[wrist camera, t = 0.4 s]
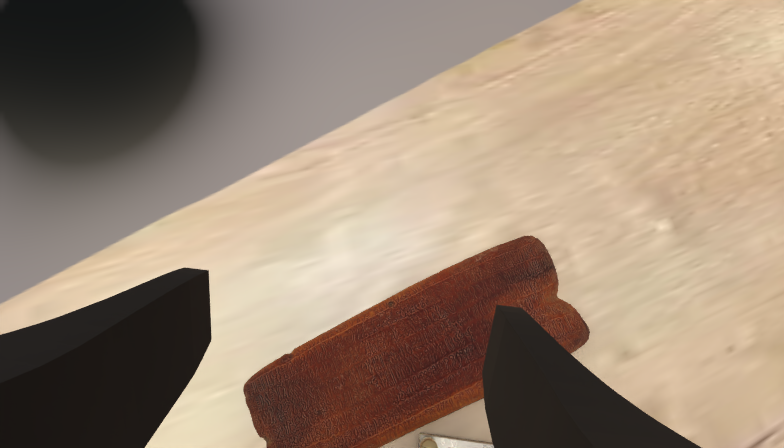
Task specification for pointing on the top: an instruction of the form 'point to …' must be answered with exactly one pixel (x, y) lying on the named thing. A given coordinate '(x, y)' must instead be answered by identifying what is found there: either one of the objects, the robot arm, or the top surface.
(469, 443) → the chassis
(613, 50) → the top surface
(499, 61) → the top surface
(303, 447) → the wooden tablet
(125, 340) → the robot arm
